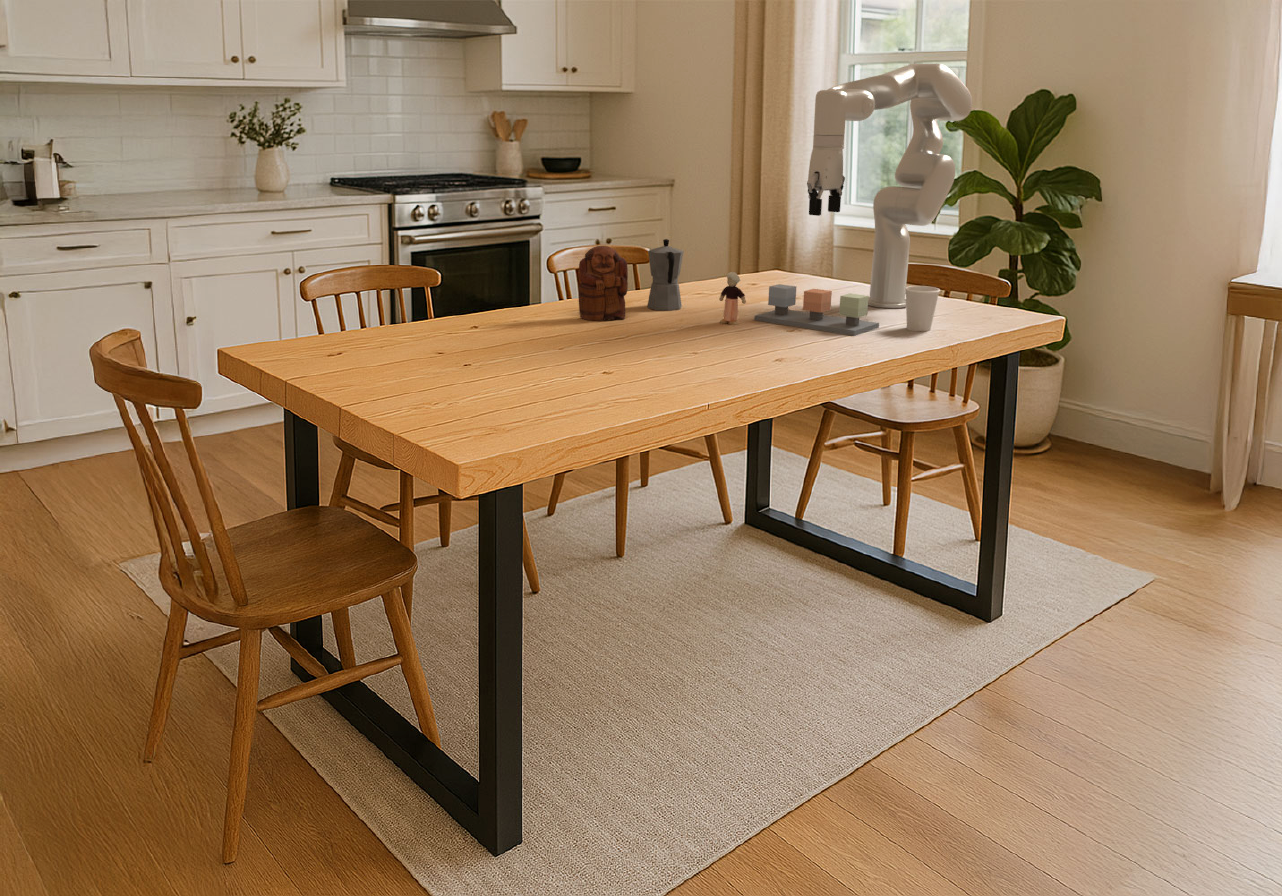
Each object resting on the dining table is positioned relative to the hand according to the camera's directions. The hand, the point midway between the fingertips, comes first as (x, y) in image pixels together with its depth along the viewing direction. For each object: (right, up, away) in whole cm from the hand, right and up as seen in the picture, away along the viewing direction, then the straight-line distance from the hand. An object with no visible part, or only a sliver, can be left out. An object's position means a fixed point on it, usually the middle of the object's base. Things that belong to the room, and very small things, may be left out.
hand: (824, 213), depth 272 cm
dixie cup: (+22, -30, -5) cm, 38 cm away
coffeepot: (-40, -22, +15) cm, 48 cm away
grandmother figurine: (-24, -28, -3) cm, 37 cm away
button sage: (+5, -27, -8) cm, 28 cm away
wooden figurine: (-55, -27, 0) cm, 62 cm away
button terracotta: (-2, -25, -3) cm, 25 cm away
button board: (-2, -28, -2) cm, 28 cm away
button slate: (-10, -23, +3) cm, 25 cm away
